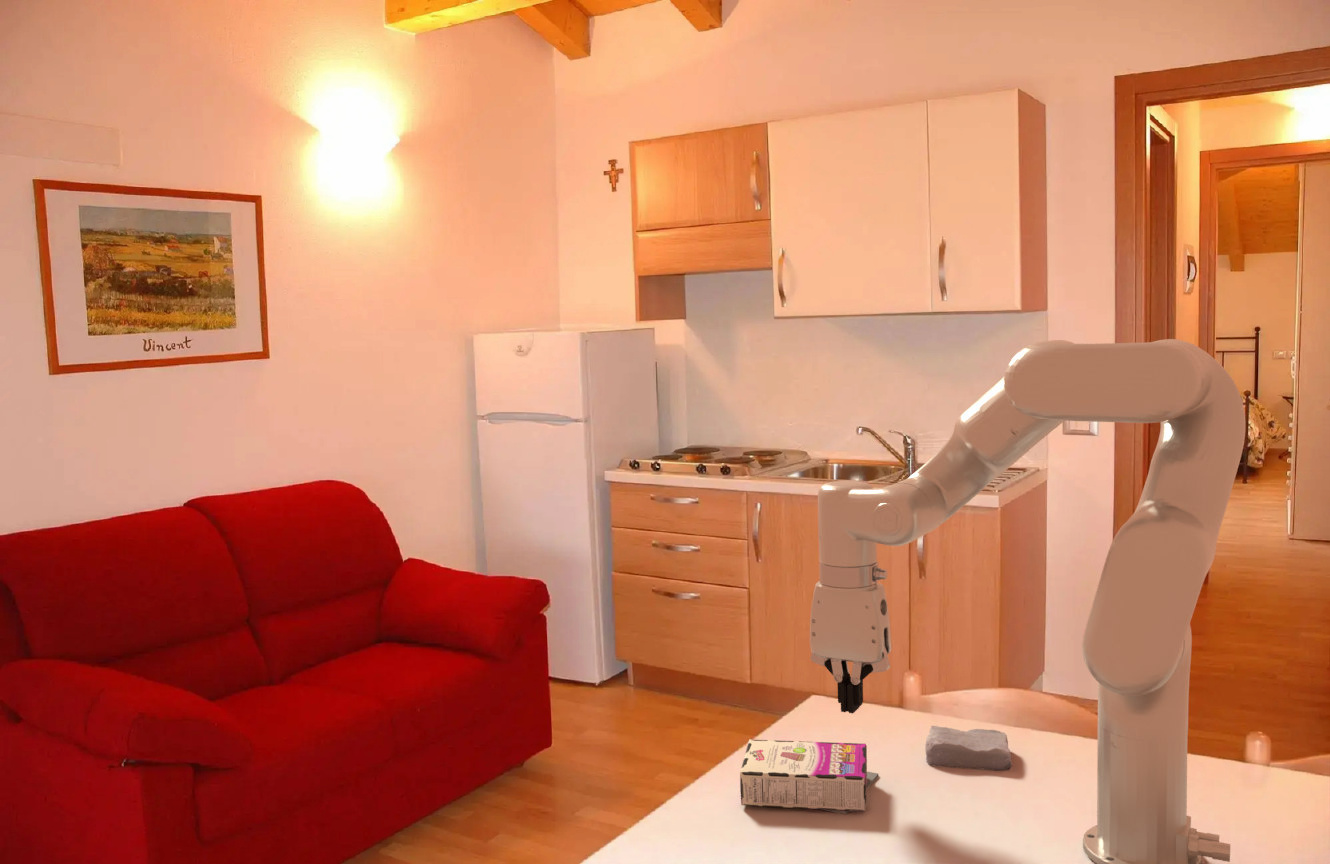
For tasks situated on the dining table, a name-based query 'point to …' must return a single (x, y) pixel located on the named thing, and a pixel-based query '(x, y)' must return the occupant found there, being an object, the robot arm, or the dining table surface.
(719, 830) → the dining table surface
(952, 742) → the stone block
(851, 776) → the candy bar box
